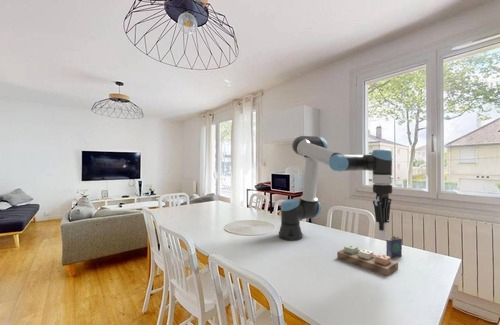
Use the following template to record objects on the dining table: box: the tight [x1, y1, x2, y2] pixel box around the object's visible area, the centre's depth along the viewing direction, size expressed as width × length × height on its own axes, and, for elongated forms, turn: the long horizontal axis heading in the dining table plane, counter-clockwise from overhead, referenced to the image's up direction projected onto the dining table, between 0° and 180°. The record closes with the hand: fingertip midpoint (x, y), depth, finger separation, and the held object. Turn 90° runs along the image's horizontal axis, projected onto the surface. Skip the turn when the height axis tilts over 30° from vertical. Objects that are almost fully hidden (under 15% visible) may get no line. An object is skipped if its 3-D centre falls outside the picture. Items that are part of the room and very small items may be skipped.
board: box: [336, 248, 399, 277], centre depth 108 cm, size 23×11×3 cm, turn 36°
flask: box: [385, 234, 403, 259], centre depth 116 cm, size 9×3×11 cm, turn 109°
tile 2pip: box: [359, 248, 374, 260], centre depth 108 cm, size 4×4×3 cm
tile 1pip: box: [343, 244, 359, 254], centre depth 114 cm, size 4×4×3 cm
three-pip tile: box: [375, 253, 392, 265], centre depth 102 cm, size 4×4×3 cm
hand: (382, 237), depth 102 cm, fingers closed
